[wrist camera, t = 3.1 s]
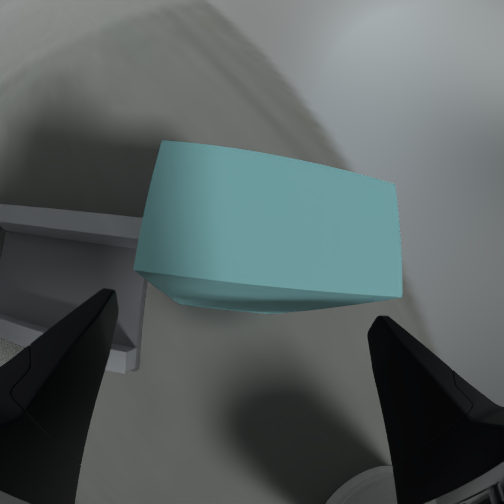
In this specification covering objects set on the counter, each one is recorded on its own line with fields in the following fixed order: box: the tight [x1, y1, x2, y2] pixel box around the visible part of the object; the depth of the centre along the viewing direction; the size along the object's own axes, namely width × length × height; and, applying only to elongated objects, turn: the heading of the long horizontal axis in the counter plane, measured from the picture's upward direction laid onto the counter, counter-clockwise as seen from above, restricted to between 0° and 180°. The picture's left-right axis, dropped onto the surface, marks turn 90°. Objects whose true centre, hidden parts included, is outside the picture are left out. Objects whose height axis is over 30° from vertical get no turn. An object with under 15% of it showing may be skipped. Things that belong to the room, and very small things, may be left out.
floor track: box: [0, 204, 147, 374], centre depth 15 cm, size 12×9×4 cm
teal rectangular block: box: [133, 140, 402, 314], centre depth 12 cm, size 6×3×13 cm, turn 85°
